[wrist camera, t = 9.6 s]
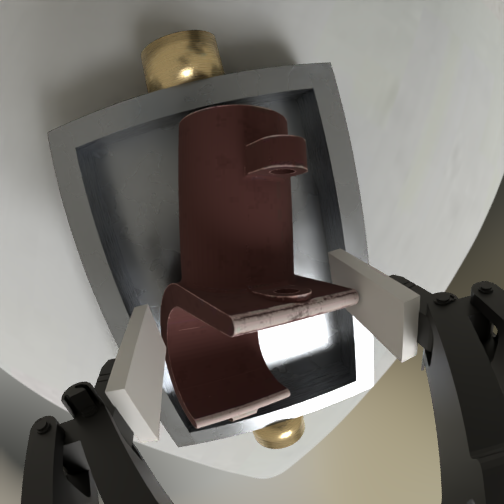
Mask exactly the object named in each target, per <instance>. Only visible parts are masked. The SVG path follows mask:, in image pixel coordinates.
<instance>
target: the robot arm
mask: <svg viewBox="0 0 504 504" xmlns="http://www.w3.org/2000/svg"><path fill="white" fill-rule="evenodd" d="M328 258H329V264H330V271H331V278H332V284H336V285H340V286H344V287H348V288H352V289H355V290H356V291H357V292H358V295H359V301H358V303H357V304H355V305H352V306H349V307H346V308H345V309H346V310H347V311H348V312H349V313H350V314H352V315H353V316H354V317H355V318H356V319H357V320H358V321H359V322H360V323H361V324H362V325H363V326H364V327H365V328H366V329H367V330H368V331H369V332H370V333H372V334H373V335H374V336H375V337H376V338H377V339H378V340H379V341H380V342H381V343H382V344H383V345H384V346H385V347H386V348H387V349H388V350H389V351H390V352H391V353H392V354H393V355H394V356H395V357H396V358H397V359H398V360H400V361H401V362H404V361H405V360H407V359H410V358H411V357H413V356H415V355H417V345H418V343H419V344H420V345H421V346H422V347H424V351H423V359H422V368H421V370H424V366H425V367H426V372H427V377H428V382H429V387H430V391H431V397H432V403H433V409H434V416H435V423H436V430H437V438H438V447H439V456H440V466H441V467H440V468H441V484H442V503H441V504H504V290H502V289H501V288H500V287H498V286H497V285H496V284H494V283H491V282H488V281H482V282H478V283H476V284H474V285H473V286H472V288H471V296H468V297H464V298H461V299H458V298H457V297H456V296H455V295H453V294H451V293H447V292H439V293H435V294H431V293H430V292H428V291H426V290H425V289H423V288H421V287H419V286H418V285H416V284H414V283H412V282H410V281H409V280H407V279H405V278H404V277H401V276H396V275H391V276H387V275H386V274H384V273H382V272H381V271H379V270H377V269H375V268H374V267H372V266H370V265H369V264H367V263H365V262H363V261H362V260H360V259H358V258H356V257H355V256H353V255H351V254H349V253H348V252H346V251H344V250H342V249H341V248H340V249H337V250H334V251H330V252H328ZM494 325H495V326H496V328H497V330H498V333H497V335H495V334H494V333H493V328H494ZM165 356H166V346H165V344H164V341H163V339H162V337H161V334H160V332H159V330H158V327H157V325H156V323H155V320H154V318H153V315H152V313H151V310H150V308H149V305H148V304H145V305H142V306H138V307H134V310H133V312H132V315H131V318H130V320H129V323H128V326H127V328H126V331H125V334H124V336H123V339H122V342H121V345H120V348H119V351H118V353H117V356H116V358H115V359H111V360H108V361H107V362H106V363H105V365H104V366H103V367H102V369H101V371H100V374H99V377H98V379H97V383H96V385H95V388H94V387H93V386H92V385H91V384H90V383H88V382H79V383H77V384H74V385H72V386H71V387H69V388H68V389H67V390H66V391H65V392H64V394H63V395H62V400H61V401H62V403H63V404H64V406H65V407H66V408H67V410H68V411H69V412H70V414H71V415H72V416H73V418H74V419H73V420H70V421H67V422H64V423H61V424H59V423H58V421H57V420H56V419H55V418H54V417H52V416H45V417H43V418H40V419H38V420H37V421H36V422H35V423H34V425H33V426H32V428H31V430H30V435H29V441H28V447H27V453H26V460H25V467H24V475H23V485H22V496H21V504H99V501H98V492H97V488H98V491H99V493H100V495H101V498H102V500H103V502H104V504H174V503H173V502H172V501H171V499H170V498H169V497H168V495H167V494H166V492H165V491H164V489H163V488H162V487H161V485H160V484H159V482H158V481H157V479H156V478H155V476H154V475H153V473H152V472H151V470H150V468H149V467H148V465H147V464H146V462H145V460H144V459H143V457H142V456H141V454H140V452H139V451H138V449H137V448H136V446H135V445H134V444H133V435H135V436H136V438H137V439H138V440H139V442H140V443H146V442H153V441H159V428H160V413H161V399H162V387H163V376H164V365H165Z"/></svg>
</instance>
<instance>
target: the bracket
mask: <svg viewBox="0 0 504 504" xmlns="http://www.w3.org/2000/svg"><path fill="white" fill-rule="evenodd" d="M307 171H308V168H307V153H306V141H305V139H304V138H302V137H299V136H294V135H288V127H287V120H286V118H285V117H284V116H283V115H281V114H280V113H278V112H276V111H274V110H271V109H268V108H264V107H259V106H253V105H221V106H214V107H209V108H205V109H201V110H198V111H196V112H193V113H191V114H189V115H187V116H186V117H184V118H183V119H182V120H181V121H180V123H179V140H178V196H179V233H180V256H181V274H182V279H181V281H180V282H178V283H172V284H169V285H168V286H167V288H166V289H165V291H164V294H163V297H162V302H161V313H160V325H161V337H162V339H163V341H164V344H165V346H166V356H165V361H166V365H167V369H168V373H169V376H170V379H171V382H172V385H173V388H174V391H175V393H176V396H177V398H178V400H179V403H180V405H181V407H182V409H183V410H184V412H185V414H186V416H187V417H188V419H189V420H190V422H191V423H192V424H193V426H194V427H195V428H196V429H197V428H200V427H204V426H207V425H211V424H214V423H217V422H220V421H223V420H226V419H228V420H230V421H235V420H238V419H241V418H244V417H247V416H250V415H252V414H255V413H257V410H258V408H261V407H264V406H266V405H269V404H272V403H274V402H277V401H279V400H282V399H284V398H287V397H289V396H290V391H289V389H287V388H286V387H284V386H283V385H282V384H281V383H279V382H278V381H277V379H276V378H275V377H274V376H273V374H272V373H271V372H270V370H269V368H268V366H267V364H266V362H265V360H264V358H263V355H262V352H261V348H260V344H259V338H258V331H260V330H264V329H269V328H273V327H277V326H281V325H285V324H288V323H292V322H296V321H300V320H304V319H307V318H311V317H314V316H318V315H322V314H325V313H329V312H332V311H336V310H339V309H342V308H346V307H349V306H352V305H355V304H357V303H358V301H359V295H358V292H357V291H356V290H355V289H352V288H348V287H344V286H340V285H336V284H332V283H328V282H324V281H320V280H315V279H311V278H307V277H303V276H299V275H295V274H294V250H293V219H292V196H291V177H292V176H296V175H300V174H304V173H306V172H307Z"/></svg>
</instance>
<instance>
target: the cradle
mask: <svg viewBox="0 0 504 504" xmlns="http://www.w3.org/2000/svg"><path fill="white" fill-rule="evenodd" d="M141 59H142V64H143V69H144V74H145V79H146V84H147V89H148V94H144V95H141V96H138V97H135V98H132V99H129V100H126V101H123V102H120V103H117V104H115V105H112V106H109V107H106V108H104V109H101V110H98V111H96V112H93V113H91V114H88V115H86V116H83V117H81V118H79V119H76V120H74V121H72V122H69V123H67V124H65V125H63V126H61V127H58V128H56V129H54V130H52V131H50V132H48V139H49V144H50V150H51V155H52V159H53V164H54V169H55V173H56V177H57V182H58V186H59V190H60V193H61V197H62V201H63V205H64V208H65V212H66V215H67V218H68V222H69V225H70V228H71V231H72V235H73V238H74V241H75V244H76V247H77V250H78V252H79V255H80V258H81V261H82V264H83V266H84V269H85V272H86V274H87V277H88V280H89V282H90V285H91V287H92V290H93V292H94V294H95V297H96V299H97V302H98V304H99V306H100V309H101V311H102V313H103V315H104V318H105V320H106V322H107V324H108V326H109V329H110V331H111V333H112V335H113V337H114V339H115V341H116V343H117V345H118V347H119V348H120V345H121V342H122V339H123V336H124V334H125V331H126V328H127V326H128V323H129V320H130V318H131V315H132V312H133V310H134V307H138V306H142V305H145V304H148V305H149V308H150V310H151V313H152V315H153V318H154V320H155V323H156V325H157V327H158V330H159V332H160V334H161V325H160V313H161V302H162V297H163V294H164V291H165V289H166V288H167V286H168V285H169V284H172V283H178V282H180V281H181V279H182V274H181V256H180V233H179V196H178V140H179V123H180V121H181V120H182V119H183V118H184V117H186V116H187V115H189V114H191V113H193V112H196V111H198V110H201V109H205V108H209V107H214V106H221V105H253V106H259V107H264V108H268V109H271V110H274V111H276V112H278V113H280V114H281V115H283V116H284V117H285V118H286V120H287V127H288V135H294V136H299V137H302V138H304V139H305V141H306V153H307V168H308V171H307V172H306V173H304V174H300V175H296V176H292V177H291V196H292V219H293V250H294V274H295V275H299V276H303V277H307V278H311V279H315V280H320V281H324V282H328V283H332V278H331V271H330V264H329V258H328V252H330V251H334V250H337V249H340V248H341V249H342V250H344V251H346V252H348V253H349V254H351V255H353V256H355V257H356V258H358V259H360V260H362V261H363V262H365V263H367V264H369V260H368V250H367V241H366V232H365V224H364V217H363V210H362V203H361V196H360V190H359V184H358V178H357V173H356V167H355V162H354V156H353V151H352V146H351V142H350V137H349V132H348V128H347V123H346V119H345V115H344V111H343V107H342V103H341V99H340V95H339V91H338V87H337V83H336V80H335V76H334V73H333V69H332V66H331V62H330V63H311V64H298V65H287V66H278V67H270V68H262V69H255V70H248V71H242V72H236V73H230V74H224V70H223V66H222V62H221V59H220V55H219V51H218V47H217V43H216V39H215V36H214V35H213V34H211V33H209V32H206V31H200V30H189V31H181V32H176V33H173V34H169V35H166V36H164V37H161V38H159V39H157V40H155V41H153V42H152V43H150V44H149V45H148V46H147V47H145V49H144V50H143V51H142V53H141ZM258 338H259V344H260V348H261V352H262V355H263V358H264V360H265V362H266V364H267V366H268V368H269V370H270V372H271V373H272V374H273V376H274V377H275V378H276V379H277V381H278V382H279V383H281V384H282V385H283V386H284V387H286V388H287V389H289V391H290V396H289V397H287V398H284V399H282V400H279V401H277V402H274V403H272V404H269V405H266V406H264V407H261V408H258V410H257V413H255V414H252V415H250V416H247V417H244V418H241V419H238V420H235V421H230V420H228V419H226V420H223V421H220V422H217V423H214V424H211V425H207V426H204V427H200V428H197V429H196V428H195V427H194V426H193V424H192V423H191V422H190V420H189V419H188V417H187V416H186V414H185V412H184V410H183V409H182V407H181V405H180V403H179V400H178V398H177V396H176V393H175V391H174V388H173V385H172V382H171V379H170V376H169V373H168V369H167V365H166V361H165V365H164V376H163V387H162V399H161V413H160V421H161V422H162V424H163V426H164V427H165V429H166V430H167V432H168V433H169V435H170V436H171V437H172V439H173V440H174V442H175V443H176V445H177V446H178V447H183V446H188V445H194V444H199V443H204V442H209V441H213V440H218V439H222V438H227V437H231V436H235V435H239V434H243V433H247V432H250V431H253V434H254V436H255V438H256V440H257V442H258V443H259V444H261V445H262V446H264V447H267V448H272V449H280V448H285V447H288V446H290V445H292V444H294V443H295V442H297V441H298V440H299V439H300V438H301V436H302V435H303V433H304V429H305V424H304V419H303V415H305V414H308V413H310V412H313V411H316V410H319V409H321V408H324V407H326V406H329V405H332V404H334V403H337V402H339V401H341V400H344V399H346V398H349V397H351V396H353V395H356V394H358V393H360V392H362V391H365V390H367V389H369V388H371V387H373V379H374V348H373V334H372V333H370V332H369V331H368V330H367V329H366V328H365V327H364V326H363V325H362V324H361V323H360V322H359V321H358V320H357V319H356V318H355V317H354V316H353V315H352V314H350V313H349V312H348V311H347V310H346V309H345V308H342V309H339V310H336V311H332V312H329V313H325V314H322V315H318V316H314V317H311V318H307V319H304V320H300V321H296V322H292V323H288V324H285V325H281V326H277V327H273V328H269V329H264V330H260V331H258Z"/></svg>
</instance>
